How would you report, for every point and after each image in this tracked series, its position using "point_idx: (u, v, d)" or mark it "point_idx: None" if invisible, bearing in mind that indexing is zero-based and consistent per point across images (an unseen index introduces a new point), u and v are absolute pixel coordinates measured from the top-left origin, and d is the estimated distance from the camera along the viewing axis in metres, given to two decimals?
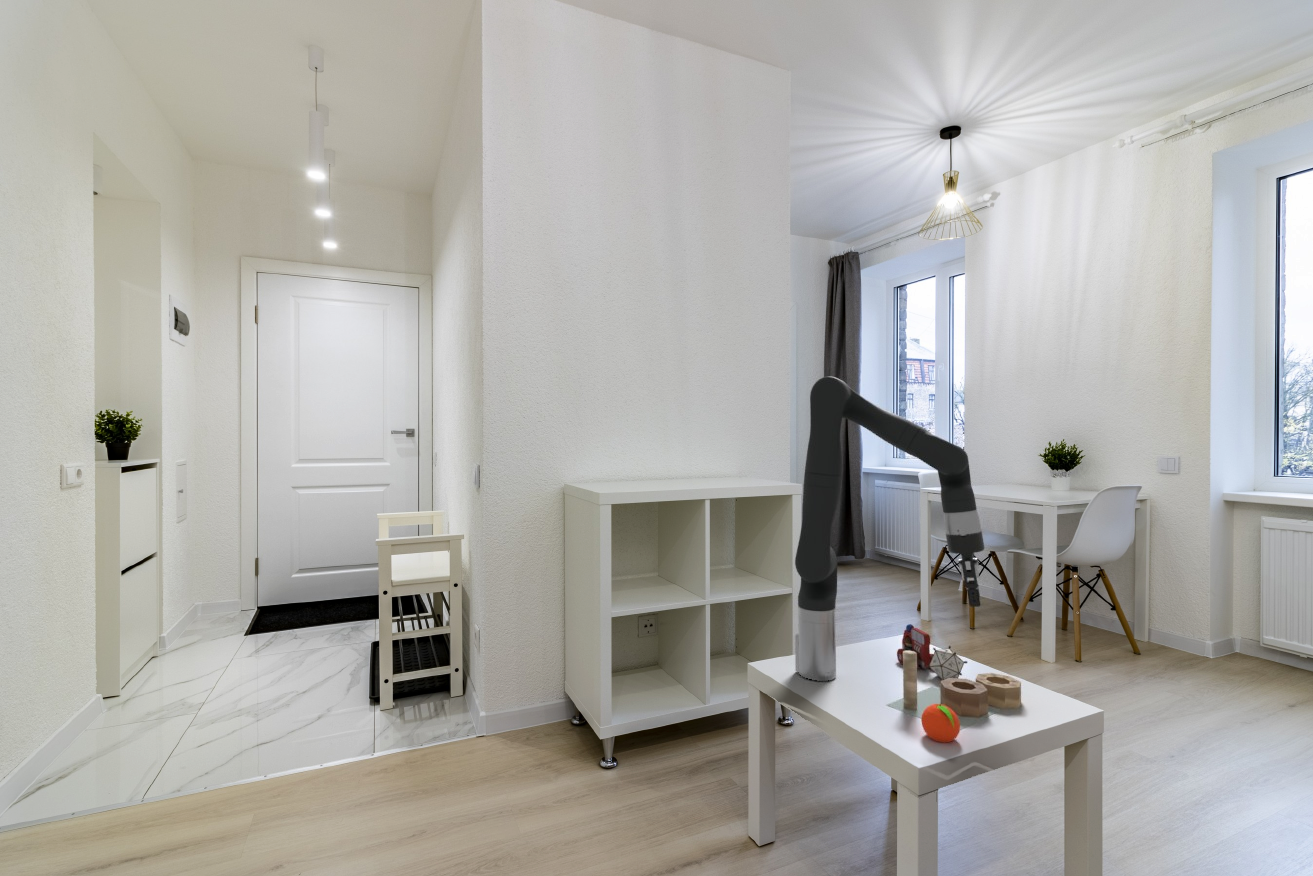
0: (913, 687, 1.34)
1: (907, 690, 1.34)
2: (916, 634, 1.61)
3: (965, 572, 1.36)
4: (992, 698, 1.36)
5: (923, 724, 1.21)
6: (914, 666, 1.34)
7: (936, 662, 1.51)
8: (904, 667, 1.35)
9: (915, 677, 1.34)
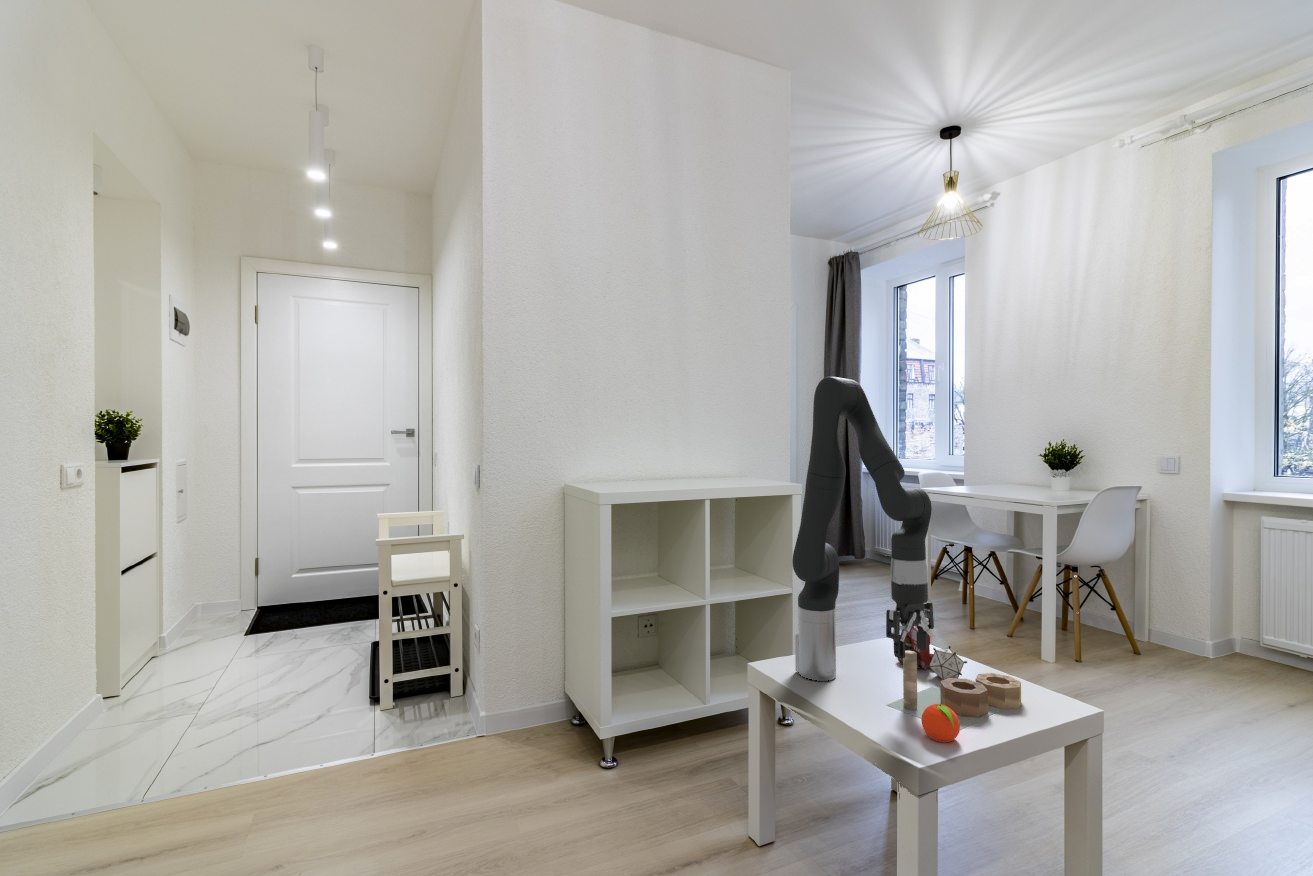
0: (913, 687, 1.34)
1: (907, 690, 1.34)
2: (916, 634, 1.61)
3: (888, 621, 1.32)
4: (992, 698, 1.36)
5: (923, 724, 1.21)
6: (914, 666, 1.34)
7: (936, 662, 1.51)
8: (904, 667, 1.35)
9: (915, 677, 1.34)
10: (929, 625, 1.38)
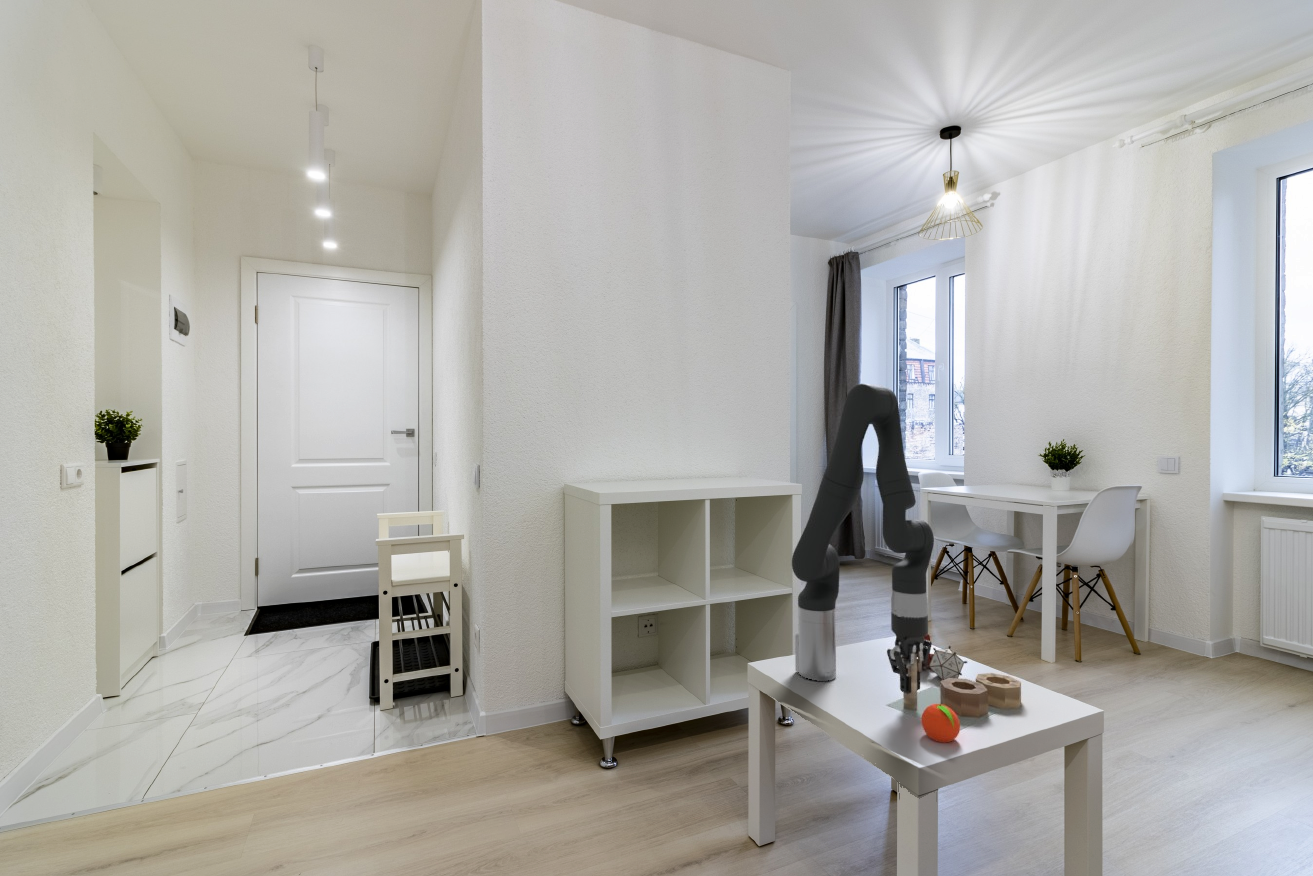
0: (913, 687, 1.34)
1: None
2: None
3: (891, 660, 1.33)
4: (992, 698, 1.36)
5: (923, 724, 1.21)
6: (914, 666, 1.34)
7: (936, 662, 1.51)
8: None
9: (915, 677, 1.34)
10: (922, 664, 1.37)
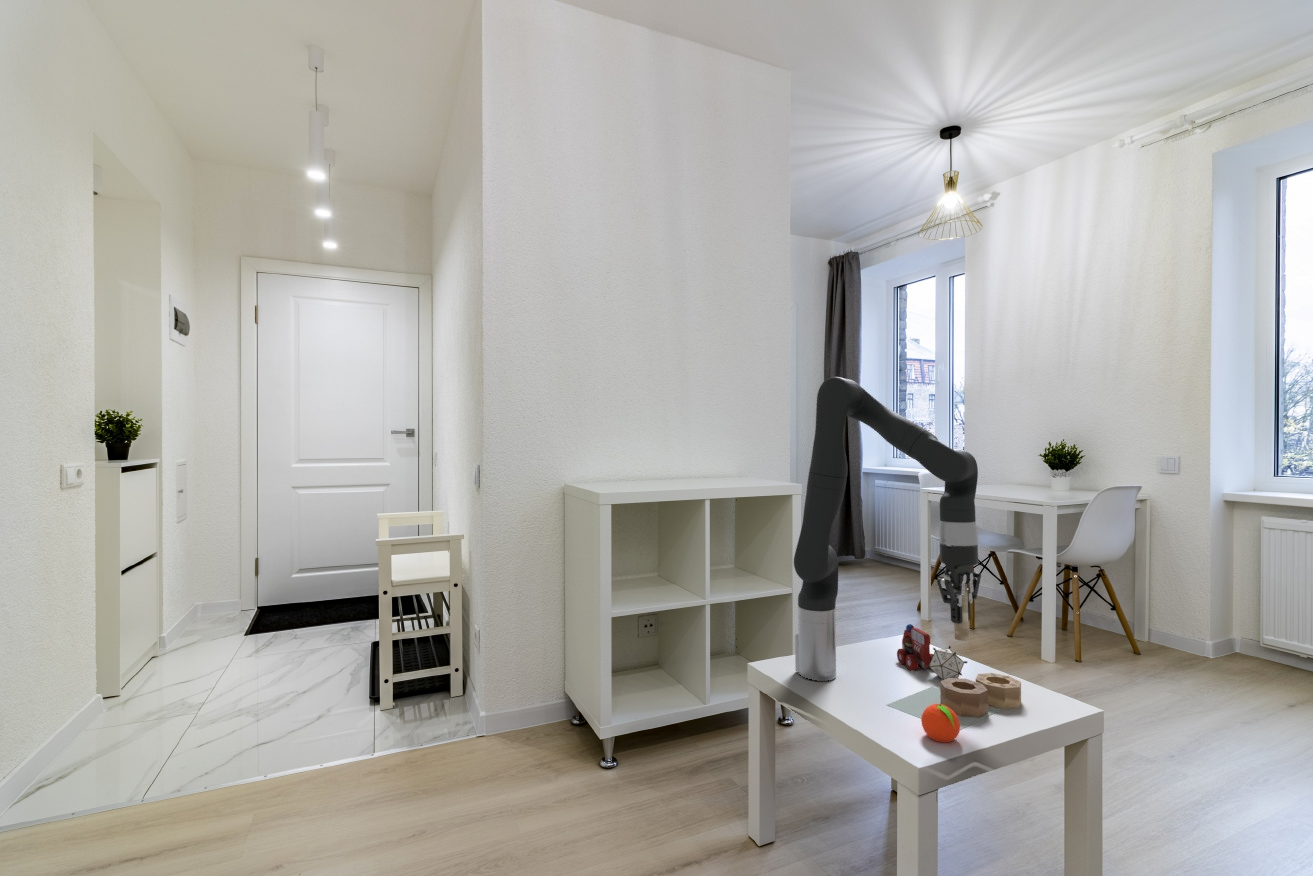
0: (965, 617, 1.33)
1: None
2: (916, 634, 1.61)
3: (941, 590, 1.32)
4: (992, 698, 1.36)
5: (923, 724, 1.21)
6: (965, 596, 1.33)
7: (936, 662, 1.51)
8: None
9: (966, 607, 1.33)
10: (972, 595, 1.36)
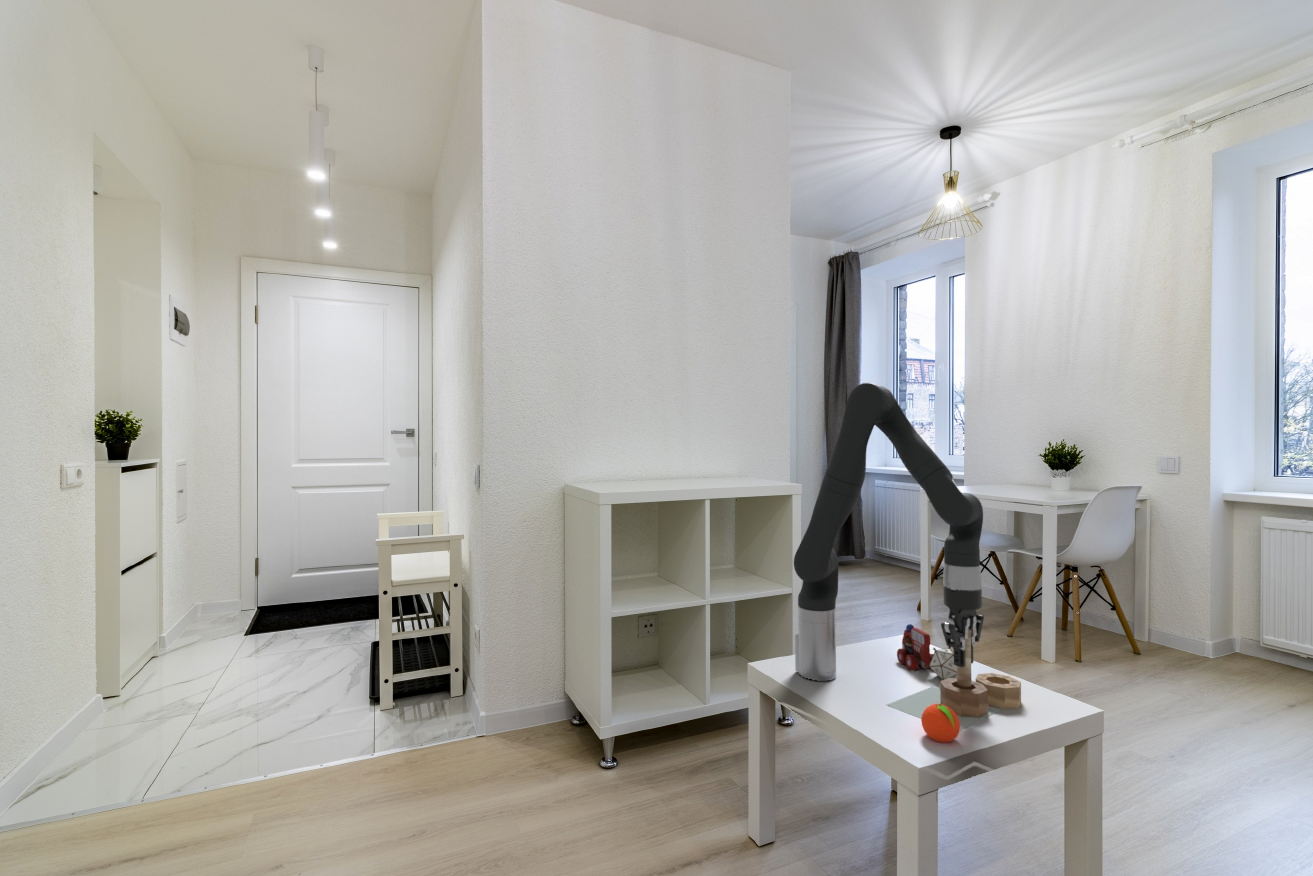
0: (967, 663, 1.33)
1: None
2: (916, 634, 1.61)
3: (945, 634, 1.32)
4: (992, 698, 1.36)
5: (923, 724, 1.21)
6: (968, 642, 1.34)
7: (936, 662, 1.51)
8: None
9: (969, 653, 1.34)
10: (975, 638, 1.36)
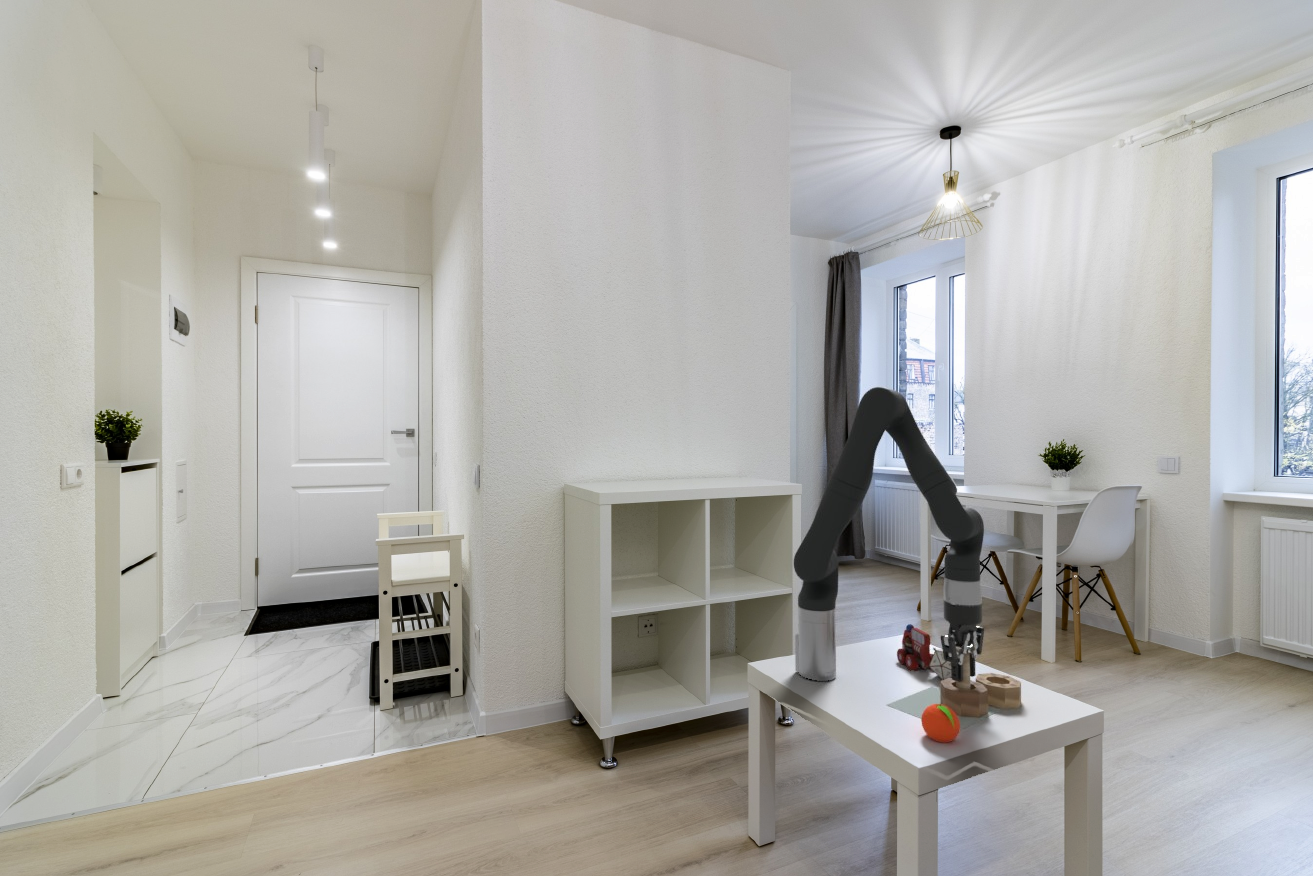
0: (967, 688, 1.33)
1: None
2: (916, 634, 1.61)
3: (944, 647, 1.32)
4: (992, 698, 1.36)
5: (923, 724, 1.21)
6: (967, 667, 1.33)
7: (936, 662, 1.51)
8: None
9: (968, 678, 1.33)
10: (977, 651, 1.37)
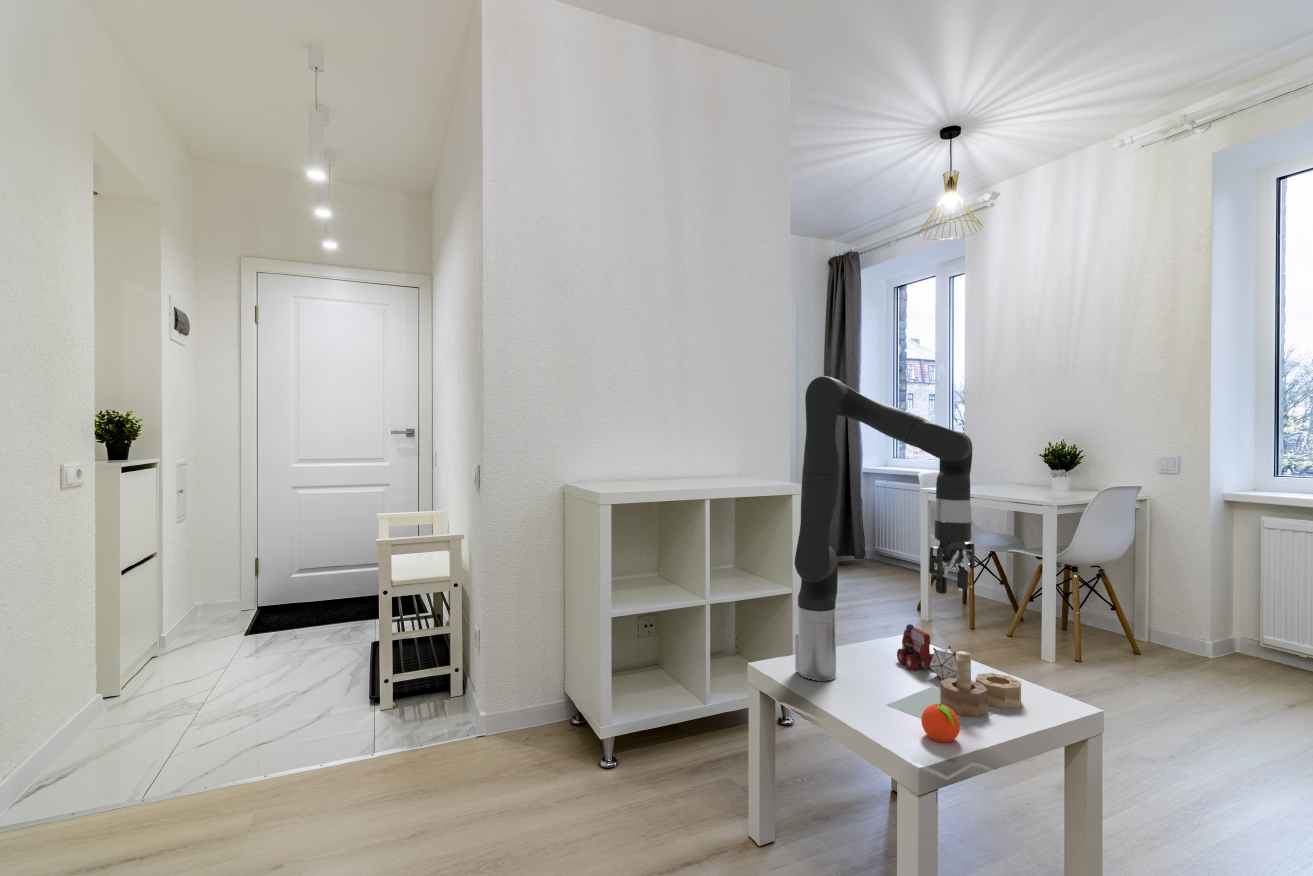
0: (967, 688, 1.33)
1: None
2: (916, 634, 1.61)
3: (931, 557, 1.37)
4: (992, 698, 1.36)
5: (923, 724, 1.21)
6: (968, 667, 1.33)
7: (936, 662, 1.51)
8: (958, 668, 1.34)
9: (969, 678, 1.33)
10: (970, 565, 1.42)
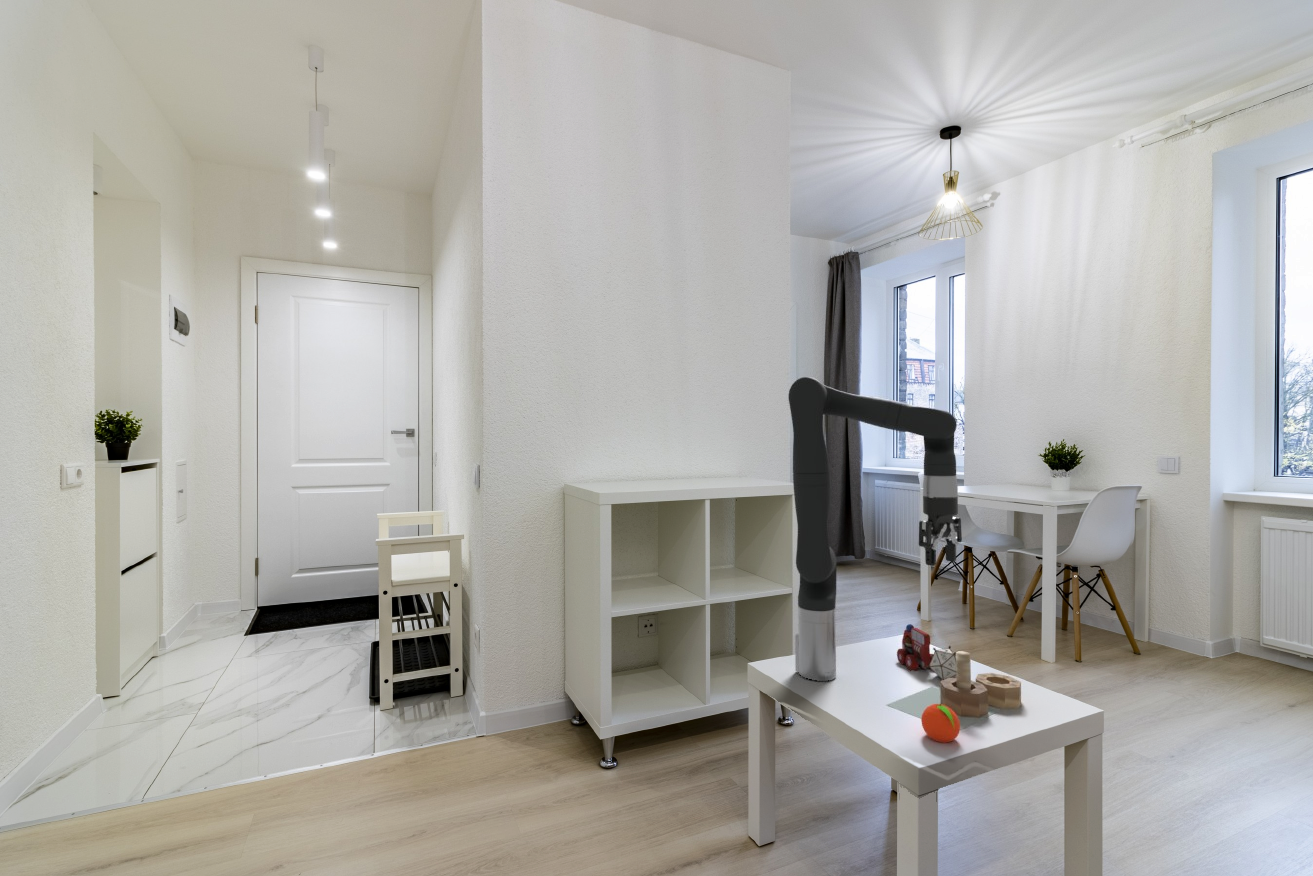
0: (967, 688, 1.33)
1: None
2: (916, 634, 1.61)
3: (920, 531, 1.43)
4: (992, 698, 1.36)
5: (923, 724, 1.21)
6: (968, 667, 1.33)
7: (936, 662, 1.51)
8: (958, 668, 1.34)
9: (969, 678, 1.34)
10: (957, 538, 1.49)
